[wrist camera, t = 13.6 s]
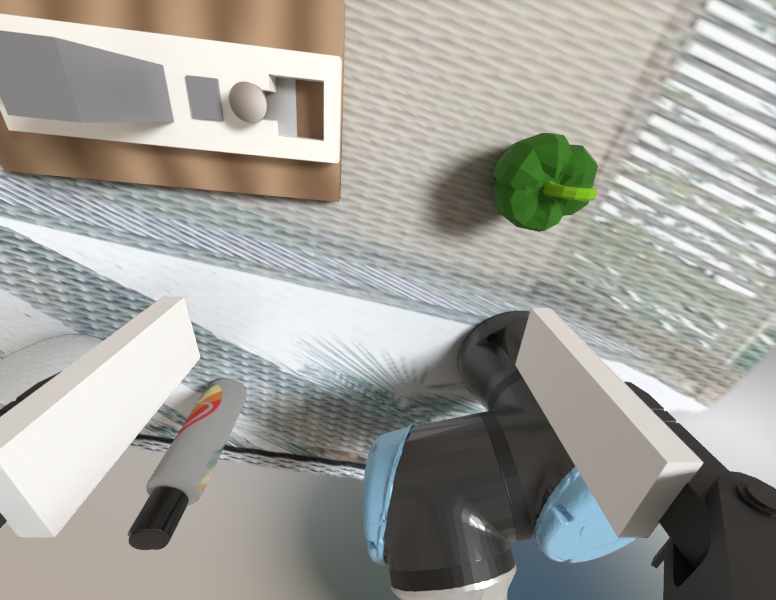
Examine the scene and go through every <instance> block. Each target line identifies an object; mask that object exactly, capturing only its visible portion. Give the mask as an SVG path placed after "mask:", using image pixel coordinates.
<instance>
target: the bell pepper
mask: <svg viewBox="0 0 776 600" xmlns="http://www.w3.org/2000/svg"><path fill="white" fill-rule="evenodd" d="M597 168H598V166H597V163H596V161H595V160H594V159H593V158H592V157H591V155H590V154H589V153H588V152H587V150H586V149H585V148H584V147H583V146H580V145H569V143H568V141H567V139H566V138H565V136H564V135H558V134H552V133H541V134H538V135H536V136H533V137H530V138H527V139H524V140H521V141H519V142H516V143H514V144H513V145H511V146H510V147H509V148H508V149H507V150H506V151H505V153H504V154H503V155H502V156H501V157H500V158H499V160H498V161H497V163H496V165H495V168H494V170H493V173H492V174H493V176H494V177H495V179H496V182H495V184H494V186H493V193H494V200H495V204H496V207H497V209H498V212H499V213H500V214H501V215H503V216H504V217H505V218H506V219H508V220H509V221H510V222H511V223H513V224H514V225H515V226H517V227H520V228H525V229H529V230H534V231H538V232H539V231H545V230H547V229H549V228H550V227H552V226H554V225H556V224H558V223H559V221H560V220H561V218H562V216H565V215H572V214H574V213H575V212H577V211H578V210H580V209H581V208H583V207H584V206H586V205H587V204H588V203H589V200H593V199H595V197H596V194H597V190H596V189H595V188H592V186H593V182H594V178H595V175H596V171H597Z"/></svg>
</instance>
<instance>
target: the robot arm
mask: <svg viewBox="0 0 776 600" xmlns="http://www.w3.org/2000/svg"><path fill="white" fill-rule="evenodd" d="M199 359H200V354H199V350H198V347H197V343H196V339H195V335H194V332H193V328H192V324H191V320H190V317H189V313H188V309H187V306H186V302H185V298H184V297H162V298H160V299H159V300H158V301H156V302H155V303H154V304H152V305H151V306H150V307H148V308H147V309H146V310H144V311H143V312H142V313H140V314H139V315H138V316H136V317H135V318H133V319H132V320H131V321H129V322H128V323H127V324H125V325H124V326H123V327H121V328H120V329H119V330H117V331H116V332H115V333H113V334H112V335H111V336H109V337H108V338H106V339H105V340H104V341H102V342H101V343H100V344H98V345H97V346H96V347H94V348H93V349H92V350H90V351H89V352H88V353H86V354H85V355H84V356H82V357H81V358H79V359H78V360H77V361H75V362H74V363H73V364H71V365H70V366H69V367H67V368H66V369H65V370H63V371H61V372H59V373H57V374H55V375H52V376H50V377H48V378H46V379H44V380H42V381H40V382H38V383H36V384H35V385H34V386H32V387H31V388H29V389H28V390H27V391H25V392H24V393H22V394H21V395H20V396H18V397H17V398H16V401H11V402H10V403H9V404H7V405H6V406H4V407H3V408H2V409H0V528H1V527H2V526H3V525H4V524H5V523H6V522H7V524H8V525H9V526H10V527H11V528H12V529H13V531H14V532H15V533H16V534H17V535H18V537H55V536H56V535H57V534H58V533H59V531H60V530H61V529H62V528H63V527H64V525H65V524H66V523H67V522H68V520H69V519H70V518H71V517H72V515H73V514H74V513H75V512H76V510H77V509H78V508H79V507H80V506H81V504H82V503H83V502H84V501H85V499H86V498H87V497H88V496H89V494H90V493H91V492H92V491H93V489H94V488H95V487H96V486H97V485H98V483H99V482H100V481H101V480H102V478H103V477H104V476H105V475H106V473H107V472H108V471H109V470H110V468H111V467H112V466H113V465H114V464H115V462H116V461H117V460H118V459H119V457H120V456H121V455H122V454H123V452H124V451H125V450H126V449H127V447H128V446H129V445H130V444H131V443H132V441H133V440H134V439H135V438H136V436H137V435H138V434H139V433H140V431H141V430H142V429H143V428H144V427H145V425H146V424H147V423H148V422H149V420H150V419H151V418H152V417H153V415H154V414H155V413H156V412H157V410H158V409H159V408H160V407H161V406H162V404H163V403H164V402H165V401H166V399H167V398H168V397H169V396H170V394H171V393H172V392H173V391H174V389H175V388H176V387H177V386H178V385H179V383H180V382H181V381H182V380H183V378H184V377H185V376H186V375H187V373H188V372H189V371H190V370H191V368H192V367H193V366H194V365H195V364H196V362H197V361H198V360H199ZM458 366H459V370H460V373H461V376H462V379H463V382H464V384H465V385H466V387H467V388H468V390H469V391H470V392H471V393H472V394H473V395H474V396H475V397H476V398H477V399H478V400H479V402H480V403H481V404H482V405H483V406H484V407H485V409H486V410H487V412H482V413H476V414H471V415H467V416H462V417H457V418H452V419H448V420H443V421H438V422H433V423H429V424H423V425H418V426H415V425H414V424H412V425H409V426H408V427H407V428H403V429H399V430H395V431H391V432H388V433H385V434H382V435H381V436H379V437H378V438H377V439H376V440H375V442H374V443H373V445H372V447H371V449H370V452H369V455H368V459H367V463H366V469H365V476H364V487H363V522H364V532H365V537H366V539H367V549H368V552H369V555H370V557H371V559H372V560H373V561H374V562H376V563H380V564H381V565H382V566H383V565H387V564H388V565H389V571H390V579H391V587H392V591H393V592H394V593H395V594H396V595H397V596H398V597H399V598H400V599H401V600H507V590H508V587H509V585H510V583H511V580H512V578H513V576H514V574H515V572H516V564H515V561H514V557H513V554H512V550H511V547H510V543H511V542H514V541H519V540H524V539H531V538H535V540H536V543H537V545H538V547H540V549H542V551H543V553H545V555H546V556H547V557H549V558H551V559H552V560H555V561H558V562H562V561H567V562H569V563H575V562H583V561H588V560H592V559H595V558H599V557H601V556H604V555H607V554H609V553H611V552H614V551H616V550H618V549H620V548H622V547H624V546H625V545H627V544H628V543H630V542H632V541H633V540H635V539H636V538H648V537H649V536H650V535H651V533H652V532H653V530H654V529H655V528H656V527H657V525H658V524H659V523H660V524H661V525H662V527H663V528H664V530H665V531H666V532H667V534H668V535H669V537H670V538H669V539H668V540H667V542H666V543H665V544H664V546H663V547H662V548H661V549H660V550H659V552H658V553H657V555H655V557H654V558H653V561H652V564H651V565H652V566H654V567H655V568H657V567H658V566H659V565H660V564H661V562H662V561H664V592H663V600H776V489H775V488H773V487H771V486H770V485H768V484H766V483H764V482H762V481H761V480H759V479H757V478H754V477H752V476H748V475H746V474H743V473H740V472H731V471H729V470H727V469H726V468H725V467H724V466H723V465H722V464H721V463H720V462H719V461H718V460H717V459H716V458H715V457H714V456H713V455H712V454H711V453H710V452H708V450H707V449H706V448H705V447H703V446H702V445H701V444H700V443H699V442H698V441H697V440H696V439H695V438H694V437H693V436H692V435H691V434H690V433H689V432H688V431H687V430H686V429H685V428H683V426H682V425H680V424H679V423H676V420H675V419H674V418H673V417H672V416H671V415H670V414H669V413H668V412H667V411H664V408H663V407H662V406H661V405H660V404H659V403H658V402H657V401H656V400H654V399H653V398H652V397H651V396H650V395H649V394H648V393H646V392H645V391H643V390H642V389H640V388H638V387H637V386H635V385H634V384H632V383H631V382H623V381H622V380H621V379H620V378H619V377H618V376H617V375H616V374H615V373H614V372H613V371H612V370H611V369H610V368H609V367H608V366H607V365H606V364H605V363H604V362H603V361H602V360H601V359H600V358H599V357H598V356H597V355H596V354H595V353H594V352H593V351H592V350H591V349H590V348H589V347H588V346H587V345H586V344H585V343H584V342H583V341H582V340H581V339H580V338H579V336H578V335H577V334H576V333H575V332H574V331H573V330H572V329H571V328H570V327H569V326H568V325H567V324H566V323H565V322H564V321H563V320H562V319H561V318H560V317H559V316H558V315H557V314H556V313H555V312H554V311H553V310H552V309H551V308H531V311H530V312H529V311H514V312H508V313H503V314H500V315H497V316H495V317H492V318H490V319H488V320H486V321H485V322H483V323H481V324H480V325H479V326H477V327H476V328H475V329H474V330H473V331H472V332H471V333H470V334H469V335H468V336H467V338H466V339H465V341H464V342H463V344H462V346H461V348H460V351H459V356H458Z"/></svg>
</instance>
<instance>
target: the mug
mask: <svg viewBox="0 0 776 600" xmlns="http://www.w3.org/2000/svg"><path fill="white" fill-rule="evenodd" d="M101 342H102V340H100V339H98V338H96V337H93V336H89V335H82V334H73V335H64V336H58V337H54V338H51V339H46V340H44V341H41V342H38V343H35V344H33V345H31V346H27V347H25V348H23V349H21V350H18V351H17V352H14V353H12V354H11V355H9V356H7V357H4V358H3V359H1V360H0V409H2V408H3V407H4V406H6V405H7V404H9V403H10V402H11V401H16V398H17V397H18V396H20V395H21V394H22V393H24V392H25V391H27V390H28V389H29V388H31V387H32V386H34V385H35V384H36V383H38V382H40V381H42V380H44V379H46V378H48V377H50V376H52V375H55V374H57V373H59V372H61V371H63V370H65V369H66V368H67V367H69V366H70V365H71V364H73V363H74V362H75V361H77V360H78V359H79V358H81V357H82V356H84V355H85V354H86V353H88V352H89V351H90V350H92V349H93V348H94V347H96V346H97V345H98V344H100V343H101Z"/></svg>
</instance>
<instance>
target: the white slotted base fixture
mask: <svg viewBox="0 0 776 600" xmlns="http://www.w3.org/2000/svg"><path fill="white" fill-rule="evenodd" d="M275 77H280V78H289V79H297V80H305V81H314V82H322V83H324V139H314V138H305V137H296V136H286V135H278V121H276V120H267V119H263V120H261V121H260V122H256V123H249V122H245V121H243V120H241V119H239V118H238V117H237V116H236V115H235V114H234V112H233V111H232V109H231V106H230V103H229V93H230V90H231V88H232V87H233V86H234V85H235V84H236V83H238V82H249V83H252V84H255V85H257V86H258V87H259V88H260V89H261V90H262V91H268V92H276V86H275ZM341 81H342V60H341V58H340V56H332V55H324V54H316V53H308V52H300V51H292V50H284V49H277V48H269V47H261V46H253V45H245V44H237V43H229V42H221V41H213V40H205V39H197V38H190V37H182V36H174V35H166V34H158V33H150V32H142V31H134V30H126V29H118V28H110V27H102V26H95V25H87V24H79V23H71V22H63V21H55V20H47V19H39V18H31V17H23V16H15V15H7V14H0V111H1V113H2V116H3V118H4V120H5V123H6V125H7V128H8V130H11V131H21V132H31V133H41V134H51V135H61V136H71V137H80V138H90V139H100V140H110V141H120V142H130V143H140V144H150V145H160V146H170V147H179V148H189V149H199V150H209V151H219V152H229V153H239V154H249V155H259V156H268V157H278V158H288V159H298V160H308V161H318V162H328V163H338V162H339V161H340V124H341Z"/></svg>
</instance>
